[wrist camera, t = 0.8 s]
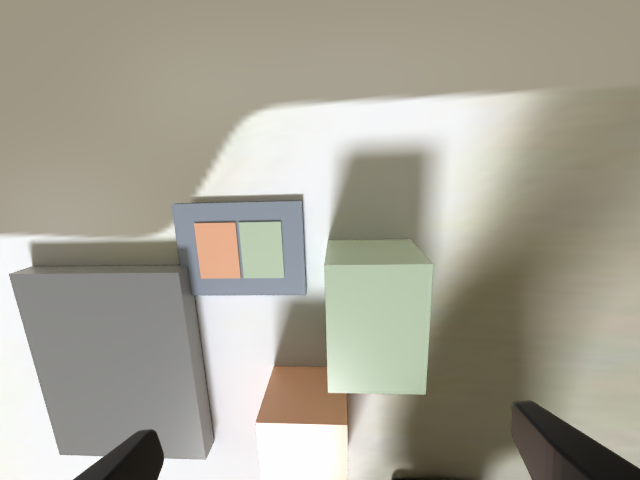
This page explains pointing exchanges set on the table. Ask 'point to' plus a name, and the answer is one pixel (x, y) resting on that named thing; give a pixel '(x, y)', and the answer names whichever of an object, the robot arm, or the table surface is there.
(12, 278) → the base plate
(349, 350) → the sage brick
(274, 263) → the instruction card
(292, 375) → the terracotta brick
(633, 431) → the table surface
